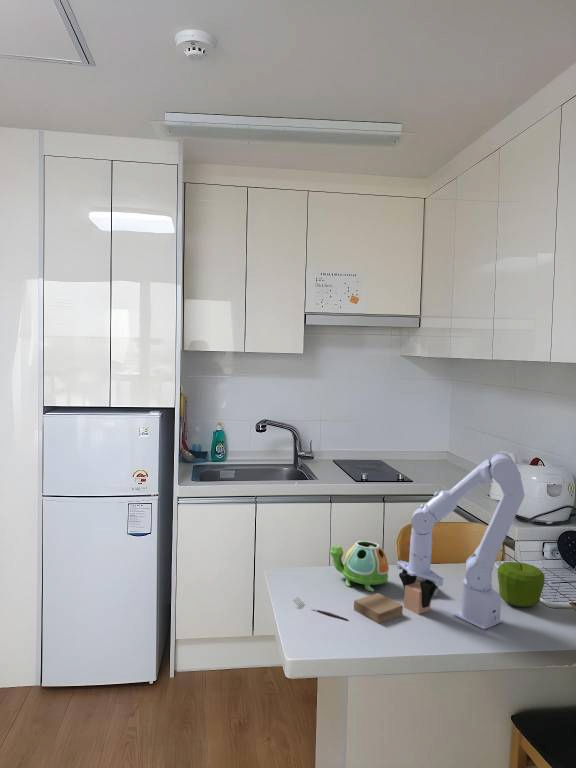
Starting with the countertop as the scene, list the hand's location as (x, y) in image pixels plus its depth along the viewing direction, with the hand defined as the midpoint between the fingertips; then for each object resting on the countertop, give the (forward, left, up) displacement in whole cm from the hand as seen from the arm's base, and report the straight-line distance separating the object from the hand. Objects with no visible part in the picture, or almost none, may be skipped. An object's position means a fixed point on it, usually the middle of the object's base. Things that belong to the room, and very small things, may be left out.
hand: (417, 602), depth 159 cm
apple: (-13, -28, -2) cm, 31 cm away
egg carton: (+8, -11, -2) cm, 14 cm away
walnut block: (+4, +11, -2) cm, 12 cm away
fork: (+12, +24, -2) cm, 27 cm away
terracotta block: (0, 0, -2) cm, 2 cm away
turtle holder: (+21, +1, -2) cm, 21 cm away
